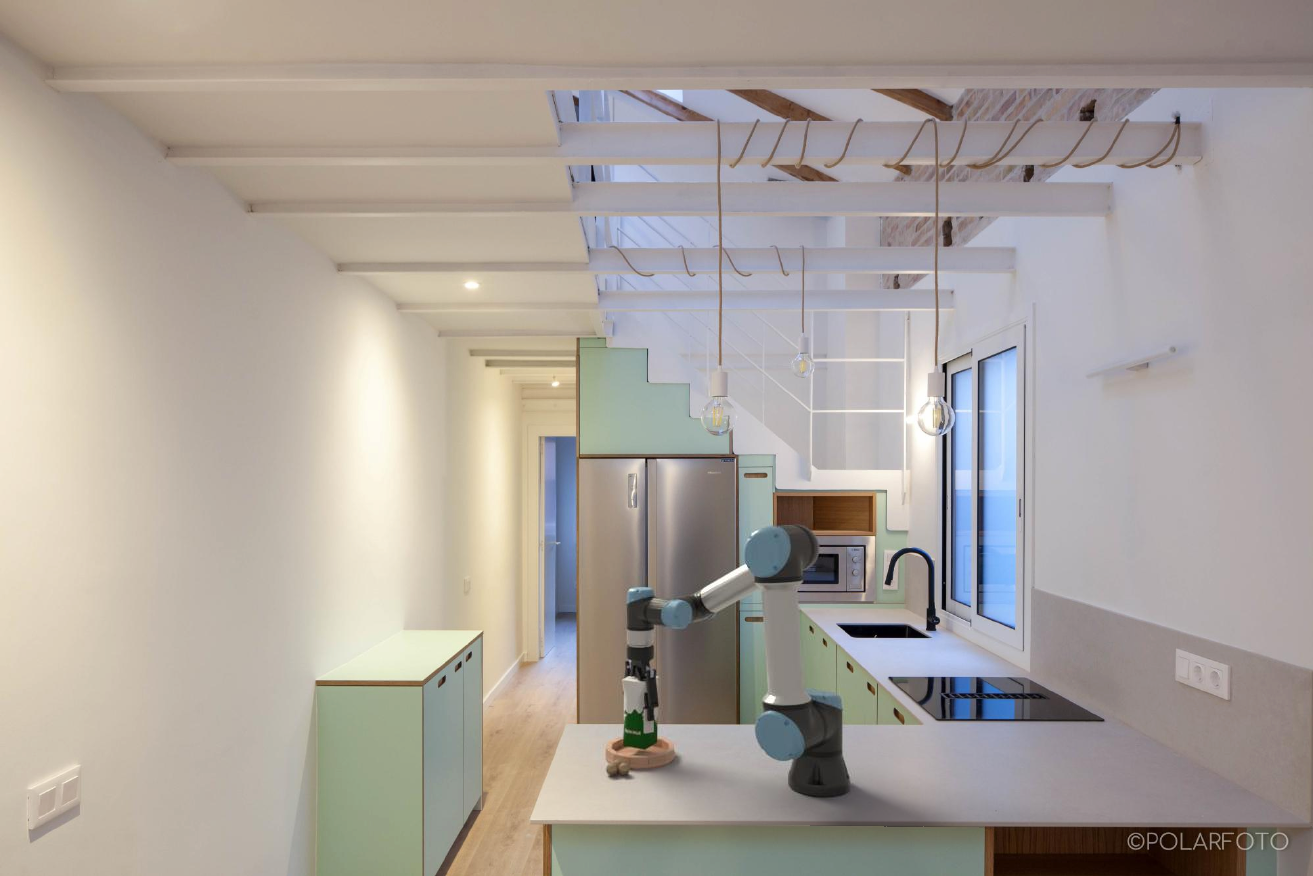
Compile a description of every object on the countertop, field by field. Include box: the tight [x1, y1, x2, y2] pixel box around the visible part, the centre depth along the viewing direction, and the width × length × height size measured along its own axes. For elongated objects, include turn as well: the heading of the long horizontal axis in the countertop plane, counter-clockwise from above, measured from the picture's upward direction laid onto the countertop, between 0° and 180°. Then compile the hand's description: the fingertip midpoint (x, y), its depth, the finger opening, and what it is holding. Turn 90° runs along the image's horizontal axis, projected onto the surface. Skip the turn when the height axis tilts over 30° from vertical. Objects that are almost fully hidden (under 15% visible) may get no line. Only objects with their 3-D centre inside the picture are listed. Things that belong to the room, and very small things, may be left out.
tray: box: [604, 736, 676, 770], centre depth 226 cm, size 19×19×3 cm
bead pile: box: [605, 760, 631, 777], centre depth 213 cm, size 6×6×3 cm
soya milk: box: [621, 675, 660, 750], centre depth 226 cm, size 9×9×20 cm
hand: (640, 727), depth 226 cm, fingers closed on soya milk, 9 cm apart
